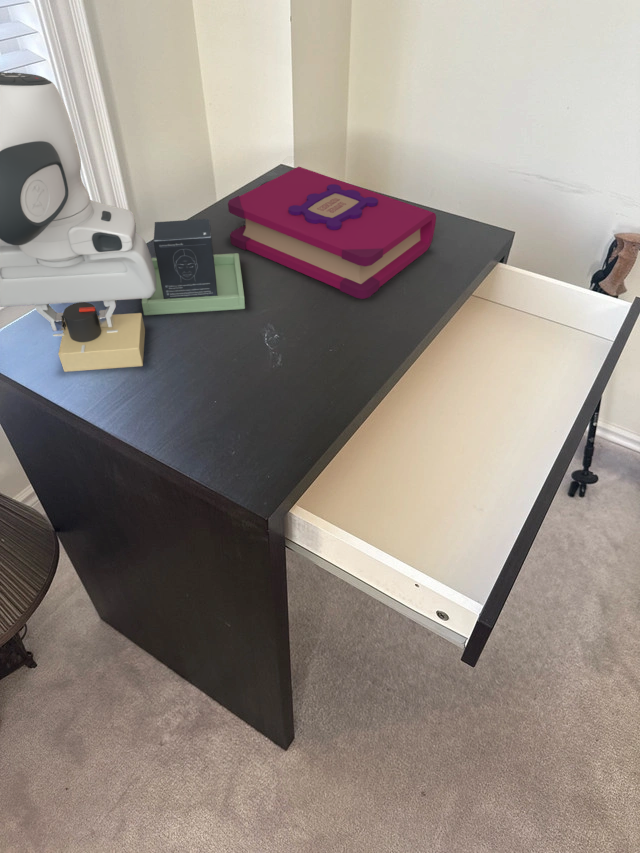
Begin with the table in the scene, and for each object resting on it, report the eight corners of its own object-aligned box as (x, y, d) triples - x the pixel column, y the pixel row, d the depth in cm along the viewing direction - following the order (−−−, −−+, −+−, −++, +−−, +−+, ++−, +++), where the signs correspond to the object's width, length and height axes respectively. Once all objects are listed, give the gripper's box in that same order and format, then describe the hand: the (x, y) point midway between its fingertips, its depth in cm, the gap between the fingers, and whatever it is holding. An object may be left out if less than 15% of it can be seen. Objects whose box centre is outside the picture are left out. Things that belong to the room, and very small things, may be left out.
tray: (144, 315, 91) (141, 303, 90) (147, 269, 100) (144, 258, 99) (245, 309, 93) (244, 296, 92) (239, 264, 102) (238, 253, 101)
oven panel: (55, 373, 82) (48, 354, 79) (63, 335, 87) (57, 316, 85) (142, 366, 83) (138, 347, 81) (145, 330, 89) (141, 311, 87)
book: (303, 200, 119) (303, 159, 114) (432, 247, 108) (439, 205, 102) (227, 242, 107) (223, 199, 102) (363, 301, 96) (367, 256, 90)
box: (216, 282, 97) (210, 217, 90) (218, 302, 93) (211, 236, 86) (164, 285, 96) (153, 220, 89) (164, 306, 92) (152, 240, 85)
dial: (68, 343, 81) (60, 319, 79) (71, 325, 84) (64, 301, 81) (100, 341, 82) (93, 316, 79) (102, 323, 85) (96, 299, 82)
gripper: (-48, 246, 69) (-6, 347, 79) (144, 236, 72) (162, 335, 81) (-34, 219, 73) (4, 317, 83) (146, 211, 76) (163, 308, 86)
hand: (84, 326), depth 82 cm, fingers open, 5 cm apart
